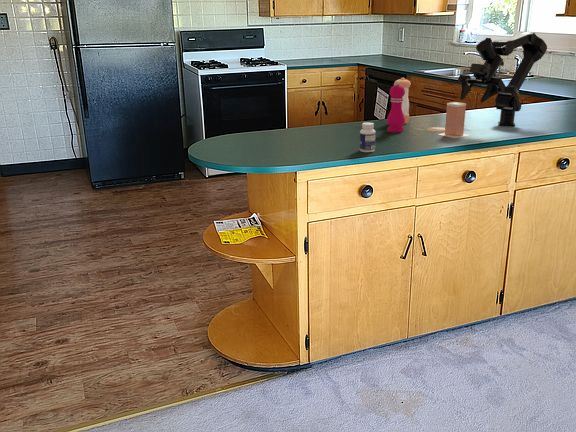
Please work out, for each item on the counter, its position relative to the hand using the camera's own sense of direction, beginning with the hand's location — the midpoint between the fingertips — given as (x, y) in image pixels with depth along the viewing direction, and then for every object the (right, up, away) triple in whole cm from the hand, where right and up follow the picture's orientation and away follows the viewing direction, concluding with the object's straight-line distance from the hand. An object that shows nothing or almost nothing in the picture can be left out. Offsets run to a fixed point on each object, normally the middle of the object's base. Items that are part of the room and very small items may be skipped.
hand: (470, 100), depth 230 cm
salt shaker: (-22, -4, +28) cm, 36 cm away
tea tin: (-6, -13, 0) cm, 15 cm away
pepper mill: (-28, -11, +9) cm, 31 cm away
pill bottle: (-43, -22, -22) cm, 53 cm away
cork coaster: (-10, -10, +9) cm, 17 cm away
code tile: (-6, -13, +1) cm, 15 cm away
